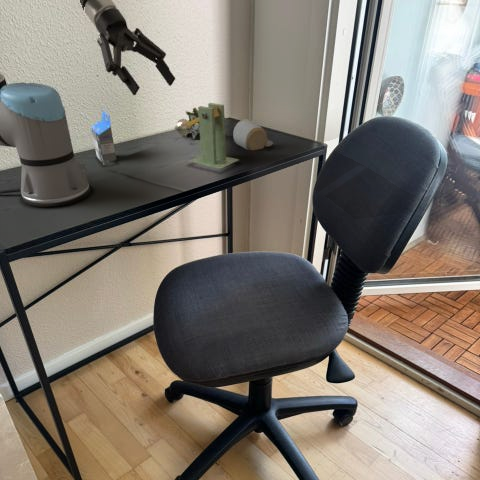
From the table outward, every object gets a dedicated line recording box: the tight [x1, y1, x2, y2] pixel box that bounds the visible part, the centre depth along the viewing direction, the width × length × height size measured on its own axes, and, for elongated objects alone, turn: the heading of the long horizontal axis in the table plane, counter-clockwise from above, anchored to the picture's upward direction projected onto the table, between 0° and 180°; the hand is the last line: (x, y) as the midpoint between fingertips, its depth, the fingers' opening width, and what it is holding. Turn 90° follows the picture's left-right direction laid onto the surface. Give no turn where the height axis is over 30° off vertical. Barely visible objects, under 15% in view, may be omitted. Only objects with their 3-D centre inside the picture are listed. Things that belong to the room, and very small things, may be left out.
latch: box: [175, 106, 220, 136], centre depth 123 cm, size 14×4×4 cm, turn 54°
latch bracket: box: [188, 102, 240, 170], centre depth 122 cm, size 11×8×15 cm
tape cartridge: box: [90, 109, 117, 166], centre depth 127 cm, size 9×4×12 cm, turn 27°
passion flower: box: [174, 107, 200, 141], centre depth 143 cm, size 11×11×12 cm
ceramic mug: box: [232, 118, 274, 151], centre depth 135 cm, size 11×8×8 cm
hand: (155, 86), depth 126 cm, fingers open, 13 cm apart
